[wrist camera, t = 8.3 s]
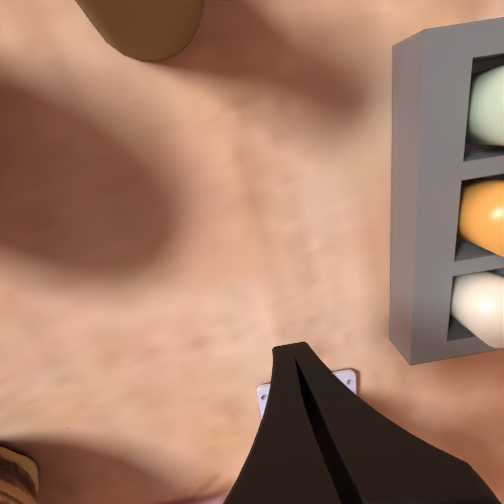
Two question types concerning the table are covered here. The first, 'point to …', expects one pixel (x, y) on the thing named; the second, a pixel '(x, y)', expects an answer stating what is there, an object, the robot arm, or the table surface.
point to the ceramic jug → (18, 478)
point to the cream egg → (480, 305)
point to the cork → (145, 25)
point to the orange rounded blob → (482, 213)
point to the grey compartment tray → (436, 185)
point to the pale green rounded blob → (486, 108)
